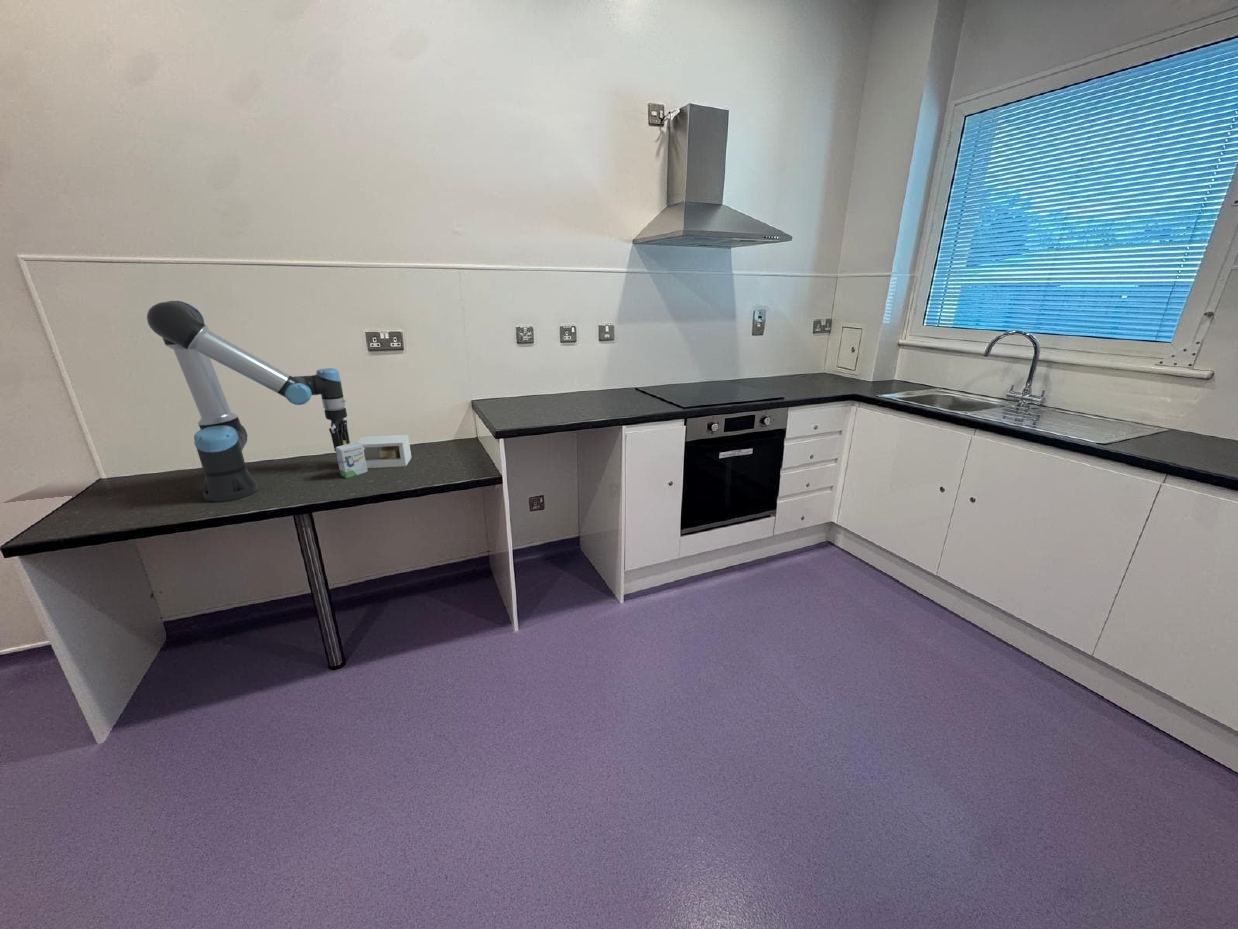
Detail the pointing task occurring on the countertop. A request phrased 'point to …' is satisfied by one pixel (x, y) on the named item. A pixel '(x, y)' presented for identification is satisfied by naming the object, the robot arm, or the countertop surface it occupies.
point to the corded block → (387, 452)
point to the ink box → (351, 459)
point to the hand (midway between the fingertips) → (345, 463)
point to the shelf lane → (377, 442)
